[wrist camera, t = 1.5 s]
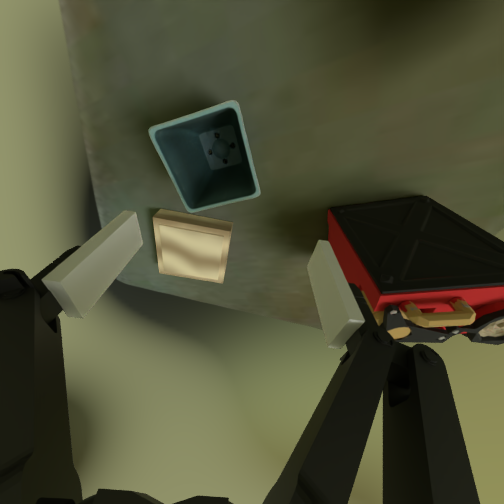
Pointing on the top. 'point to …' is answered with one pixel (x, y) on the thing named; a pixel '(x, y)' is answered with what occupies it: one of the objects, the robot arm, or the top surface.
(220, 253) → the oak stand
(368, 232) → the red mechanical box
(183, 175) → the flower pot
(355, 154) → the top surface
